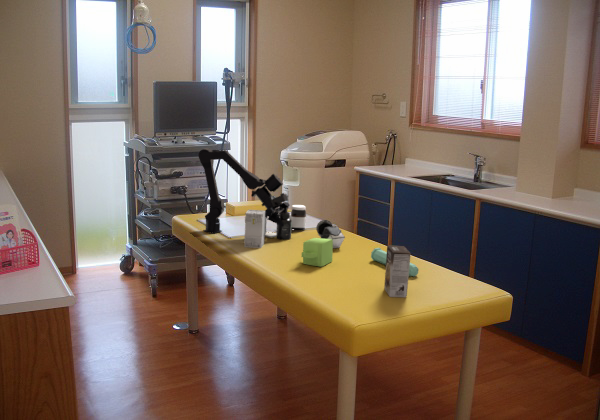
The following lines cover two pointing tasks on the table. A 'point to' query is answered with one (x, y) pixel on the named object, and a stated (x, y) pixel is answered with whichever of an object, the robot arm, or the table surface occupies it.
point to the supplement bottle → (284, 227)
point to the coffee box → (397, 271)
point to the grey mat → (270, 234)
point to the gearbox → (317, 251)
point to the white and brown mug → (298, 217)
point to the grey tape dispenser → (330, 233)
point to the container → (381, 257)
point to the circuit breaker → (255, 228)
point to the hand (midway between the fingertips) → (286, 224)
